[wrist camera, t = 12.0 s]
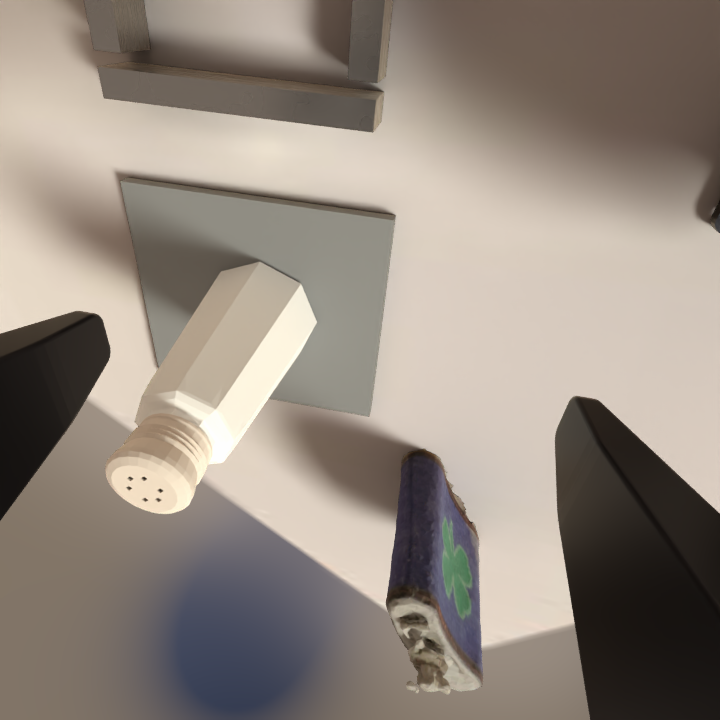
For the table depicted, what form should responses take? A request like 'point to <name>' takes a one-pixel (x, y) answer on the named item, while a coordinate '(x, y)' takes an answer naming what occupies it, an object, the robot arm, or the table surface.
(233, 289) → the pepper shaker
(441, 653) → the flask
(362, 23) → the holder
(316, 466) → the table surface
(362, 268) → the mat
